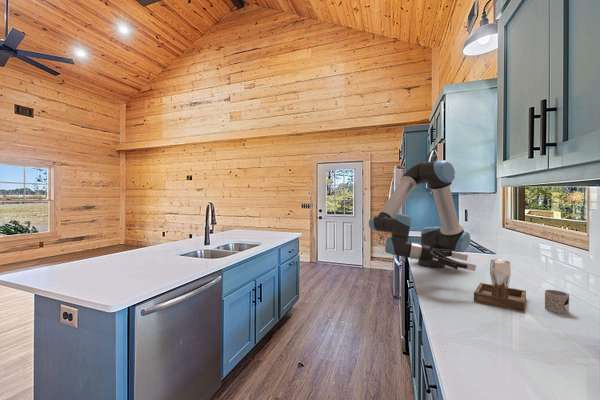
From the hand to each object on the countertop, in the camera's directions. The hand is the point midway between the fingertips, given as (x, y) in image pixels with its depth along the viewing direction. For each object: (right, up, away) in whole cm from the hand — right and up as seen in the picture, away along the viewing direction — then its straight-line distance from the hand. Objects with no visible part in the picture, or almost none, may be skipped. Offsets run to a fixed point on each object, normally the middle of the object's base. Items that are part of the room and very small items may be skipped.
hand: (471, 262), depth 124 cm
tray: (+6, -13, -9) cm, 17 cm away
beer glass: (+6, -13, -9) cm, 17 cm away
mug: (+21, -14, -18) cm, 31 cm away
